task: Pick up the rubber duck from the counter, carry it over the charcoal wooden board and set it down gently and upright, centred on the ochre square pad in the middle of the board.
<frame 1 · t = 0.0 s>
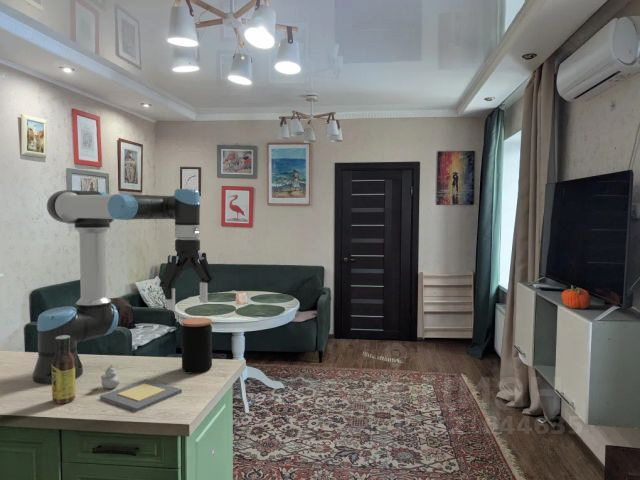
hand: (188, 306, 146), 28 cm above the counter, tool pointing down, fingers open, 13 cm apart
sauce bottle: (64, 401, 141), on the counter
board: (141, 395, 145), on the counter
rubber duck: (109, 388, 152), on the counter
coffee jar: (197, 369, 170), on the counter
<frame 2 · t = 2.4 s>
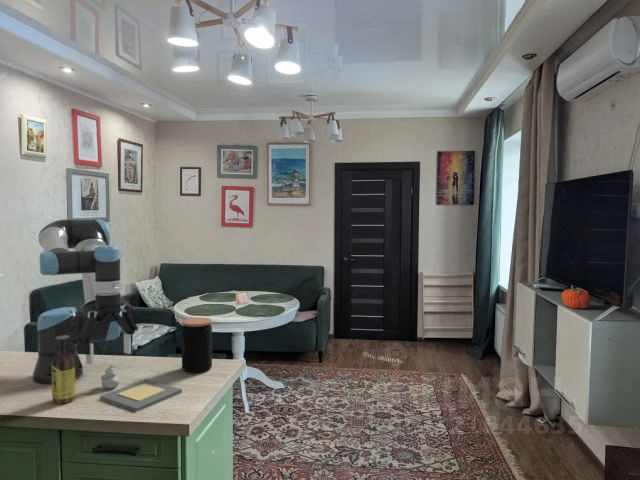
hand: (109, 358, 151), 10 cm above the counter, tool pointing down, fingers open, 13 cm apart
nothing on the counter moved.
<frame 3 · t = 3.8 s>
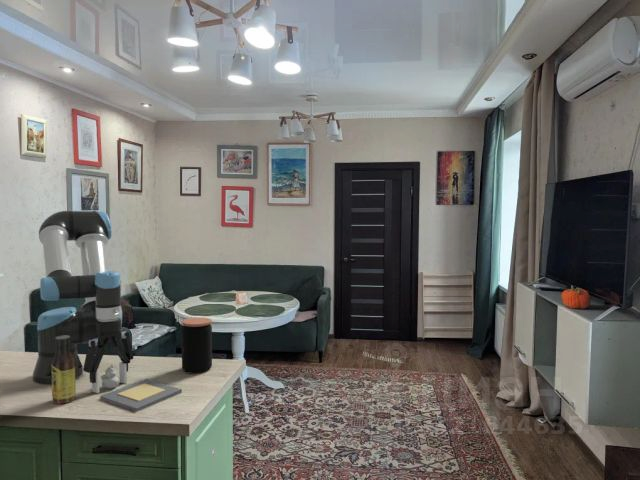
hand: (109, 386, 152), 0 cm above the counter, tool pointing down, fingers open, 9 cm apart
nothing on the counter moved.
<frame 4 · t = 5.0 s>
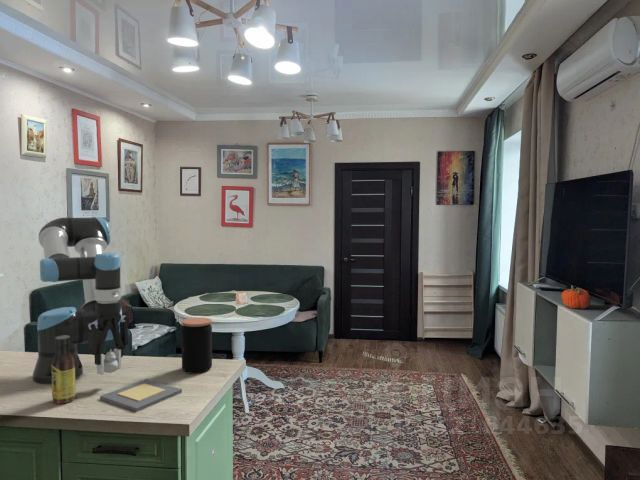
hand: (109, 370, 152), 5 cm above the counter, tool pointing down, fingers closed on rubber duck, 5 cm apart
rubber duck: (109, 372, 152), point 5 cm above the counter, touching gripper
everything else where it was.
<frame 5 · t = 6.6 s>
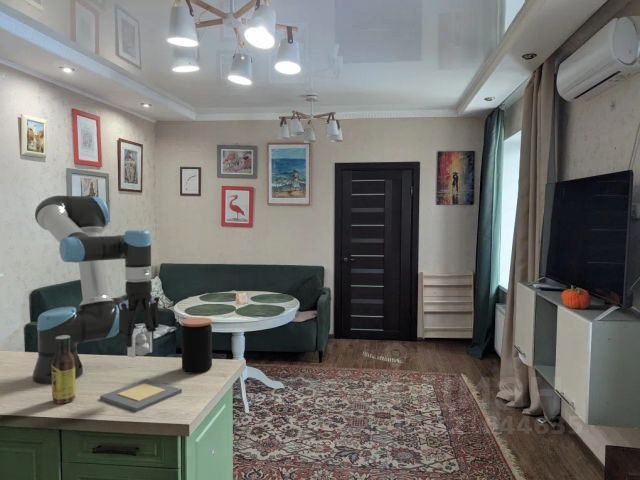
hand: (140, 354, 145), 13 cm above the counter, tool pointing down, fingers closed on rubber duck, 5 cm apart
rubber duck: (139, 355, 145), point 13 cm above the counter, touching gripper
everything else where it was.
when the fingers open (2 cm above the counter, at t = 8.3 s): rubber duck stays where it is, resting on board.
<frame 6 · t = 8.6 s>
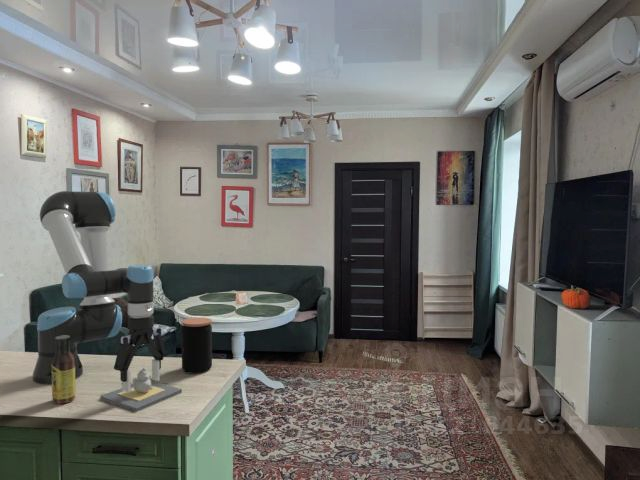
hand: (141, 385, 145), 3 cm above the counter, tool pointing down, fingers open, 10 cm apart
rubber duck: (141, 392, 146), point 1 cm above the counter, touching board
everything else where it was.
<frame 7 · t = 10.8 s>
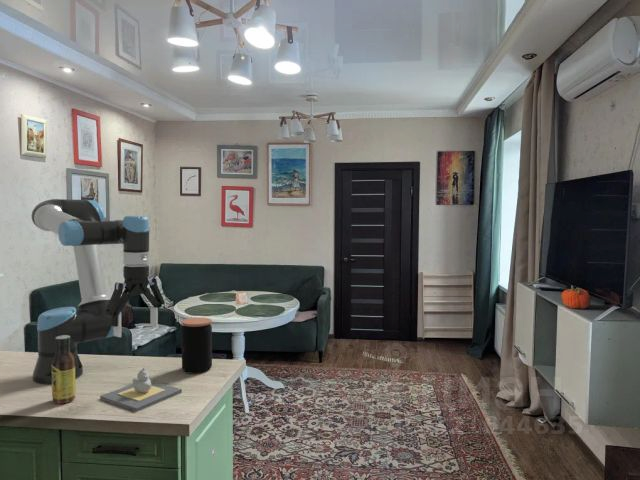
hand: (136, 331, 147), 20 cm above the counter, tool pointing down, fingers open, 13 cm apart
nothing on the counter moved.
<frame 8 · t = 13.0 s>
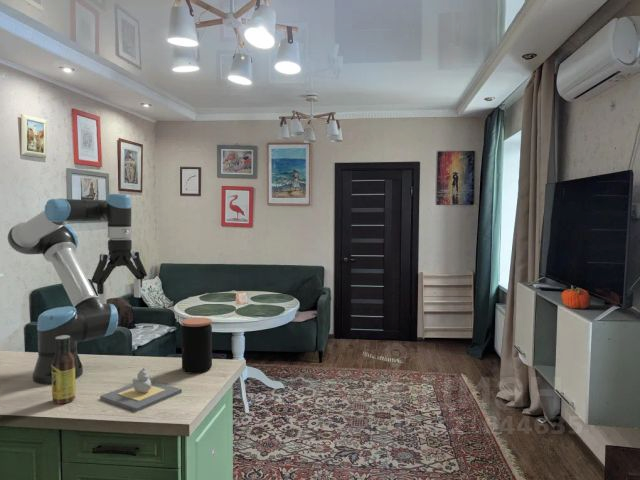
hand: (120, 300, 161), 27 cm above the counter, tool pointing down, fingers open, 13 cm apart
nothing on the counter moved.
at the end: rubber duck 0.1 cm off-centre on the board, point 1.1 cm above the board's base; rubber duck tilted 0°; the gripper is holding nothing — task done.
